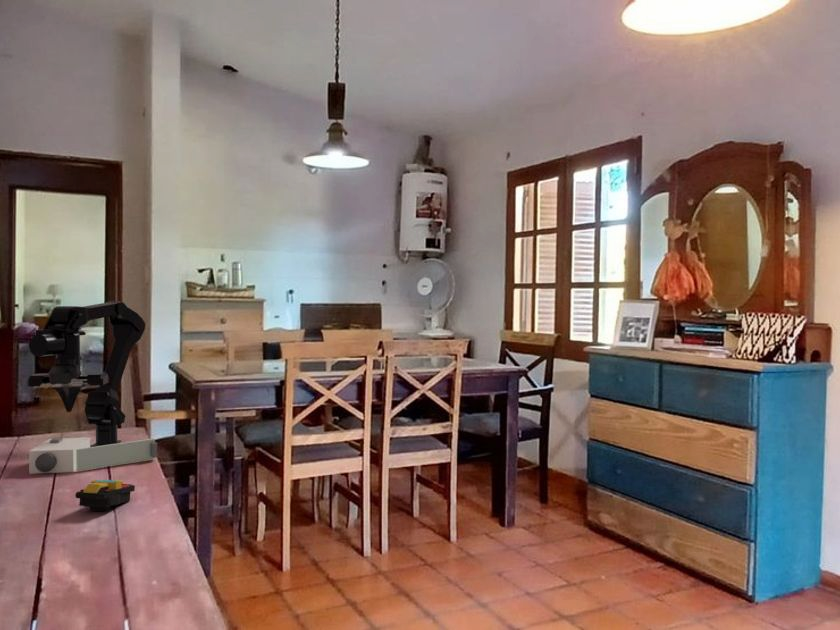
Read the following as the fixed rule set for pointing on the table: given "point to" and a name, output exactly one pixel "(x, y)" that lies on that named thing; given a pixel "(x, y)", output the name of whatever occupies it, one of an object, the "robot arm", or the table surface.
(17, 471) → the table surface
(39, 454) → the camera case
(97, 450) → the side door
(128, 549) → the table surface
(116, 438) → the robot arm
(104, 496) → the gadget
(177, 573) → the table surface
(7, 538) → the table surface
